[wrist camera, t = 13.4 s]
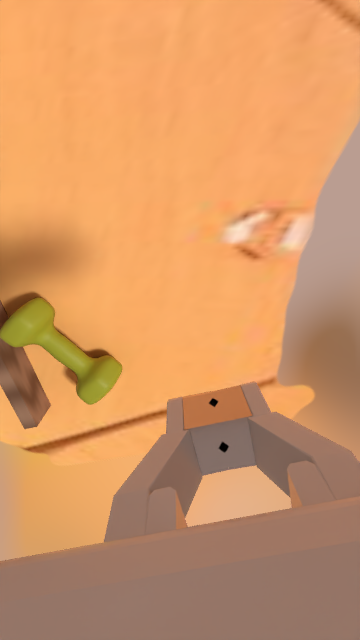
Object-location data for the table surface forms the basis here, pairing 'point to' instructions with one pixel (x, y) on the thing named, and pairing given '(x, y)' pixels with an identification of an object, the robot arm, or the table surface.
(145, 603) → the robot arm
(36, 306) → the dumbbell
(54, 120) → the table surface
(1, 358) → the walnut board
